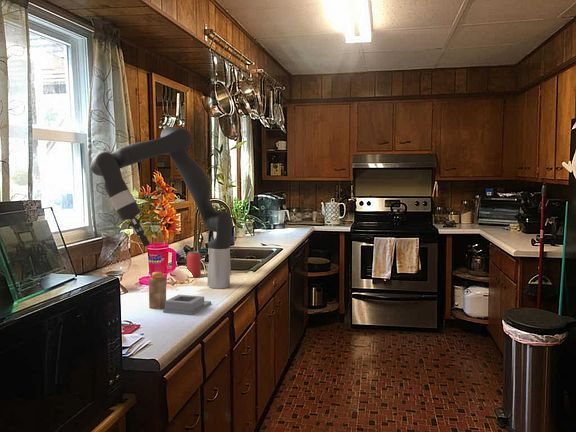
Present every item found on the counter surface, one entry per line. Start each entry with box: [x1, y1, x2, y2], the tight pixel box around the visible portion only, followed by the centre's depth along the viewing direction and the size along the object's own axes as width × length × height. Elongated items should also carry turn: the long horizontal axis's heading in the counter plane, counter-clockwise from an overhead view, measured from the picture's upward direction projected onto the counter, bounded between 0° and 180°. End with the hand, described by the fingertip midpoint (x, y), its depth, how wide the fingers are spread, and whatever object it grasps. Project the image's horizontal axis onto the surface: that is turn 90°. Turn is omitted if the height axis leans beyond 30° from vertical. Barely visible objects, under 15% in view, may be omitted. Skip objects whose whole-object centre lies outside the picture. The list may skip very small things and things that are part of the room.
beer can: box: [186, 250, 202, 279], centre depth 246 cm, size 7×7×12 cm
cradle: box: [162, 294, 212, 316], centre depth 190 cm, size 12×16×4 cm
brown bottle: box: [148, 271, 167, 310], centre depth 191 cm, size 4×4×13 cm
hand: (147, 245), depth 184 cm, fingers open, 8 cm apart
